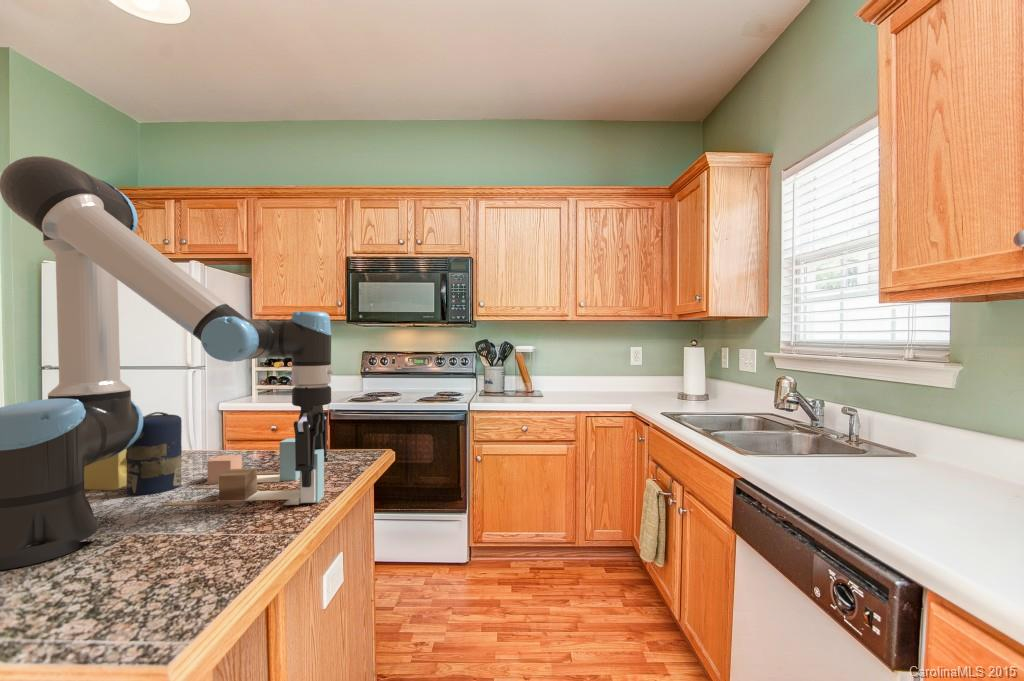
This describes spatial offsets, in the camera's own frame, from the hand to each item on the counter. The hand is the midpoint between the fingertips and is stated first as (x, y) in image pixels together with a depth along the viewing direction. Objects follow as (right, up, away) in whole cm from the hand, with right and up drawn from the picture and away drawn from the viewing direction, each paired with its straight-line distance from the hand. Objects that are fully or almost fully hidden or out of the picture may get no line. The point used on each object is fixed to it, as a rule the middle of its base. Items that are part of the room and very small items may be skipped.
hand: (312, 497), depth 96 cm
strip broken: (-18, -1, +11) cm, 21 cm away
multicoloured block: (-8, 0, -1) cm, 8 cm away
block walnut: (-15, +1, -1) cm, 15 cm away
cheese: (-51, -1, +12) cm, 52 cm away
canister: (-36, -1, +4) cm, 36 cm away
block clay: (-25, +1, +10) cm, 27 cm away
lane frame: (-20, -1, +4) cm, 21 cm away
